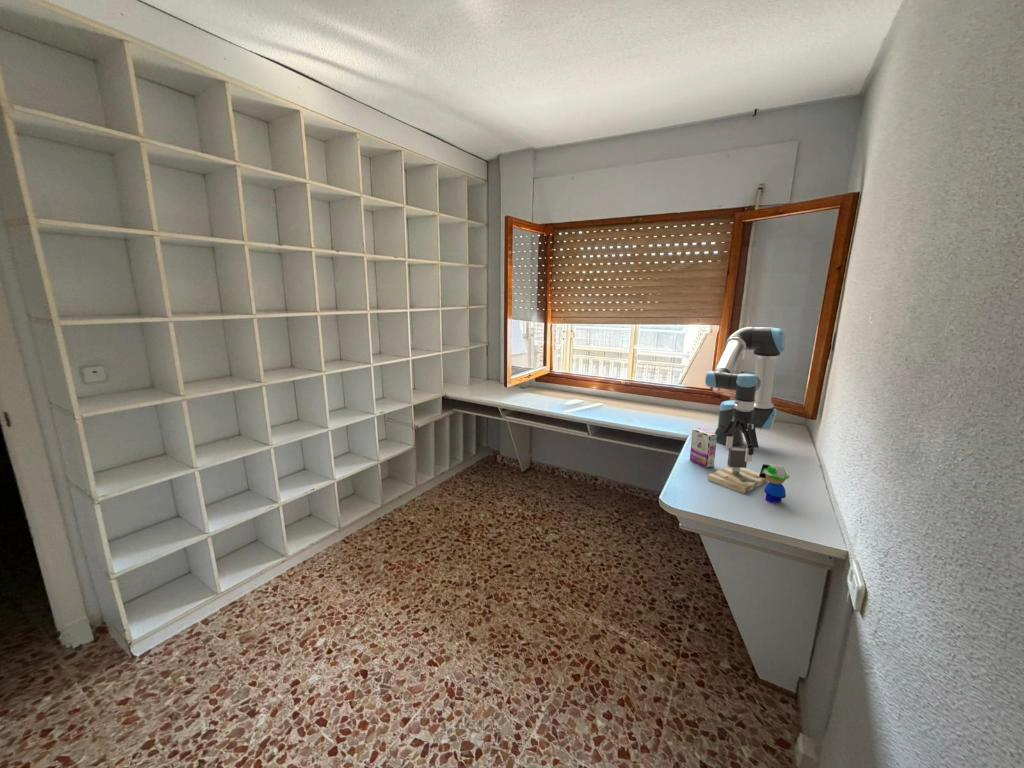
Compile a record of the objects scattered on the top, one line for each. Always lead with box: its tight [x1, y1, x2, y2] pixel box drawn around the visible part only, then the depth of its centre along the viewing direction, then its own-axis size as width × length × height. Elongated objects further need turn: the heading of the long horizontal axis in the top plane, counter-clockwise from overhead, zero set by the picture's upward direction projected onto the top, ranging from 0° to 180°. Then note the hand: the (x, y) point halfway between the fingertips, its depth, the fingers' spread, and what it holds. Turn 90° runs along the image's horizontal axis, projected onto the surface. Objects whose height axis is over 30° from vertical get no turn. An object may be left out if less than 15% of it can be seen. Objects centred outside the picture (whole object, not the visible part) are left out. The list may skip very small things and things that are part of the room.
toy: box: [759, 463, 790, 503], centre depth 164 cm, size 9×9×15 cm
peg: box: [726, 447, 748, 481], centre depth 179 cm, size 11×7×11 cm, turn 171°
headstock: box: [707, 465, 769, 494], centre depth 182 cm, size 20×16×3 cm
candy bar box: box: [689, 427, 717, 469], centre depth 199 cm, size 11×5×16 cm, turn 21°
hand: (738, 455), depth 183 cm, fingers open, 13 cm apart
